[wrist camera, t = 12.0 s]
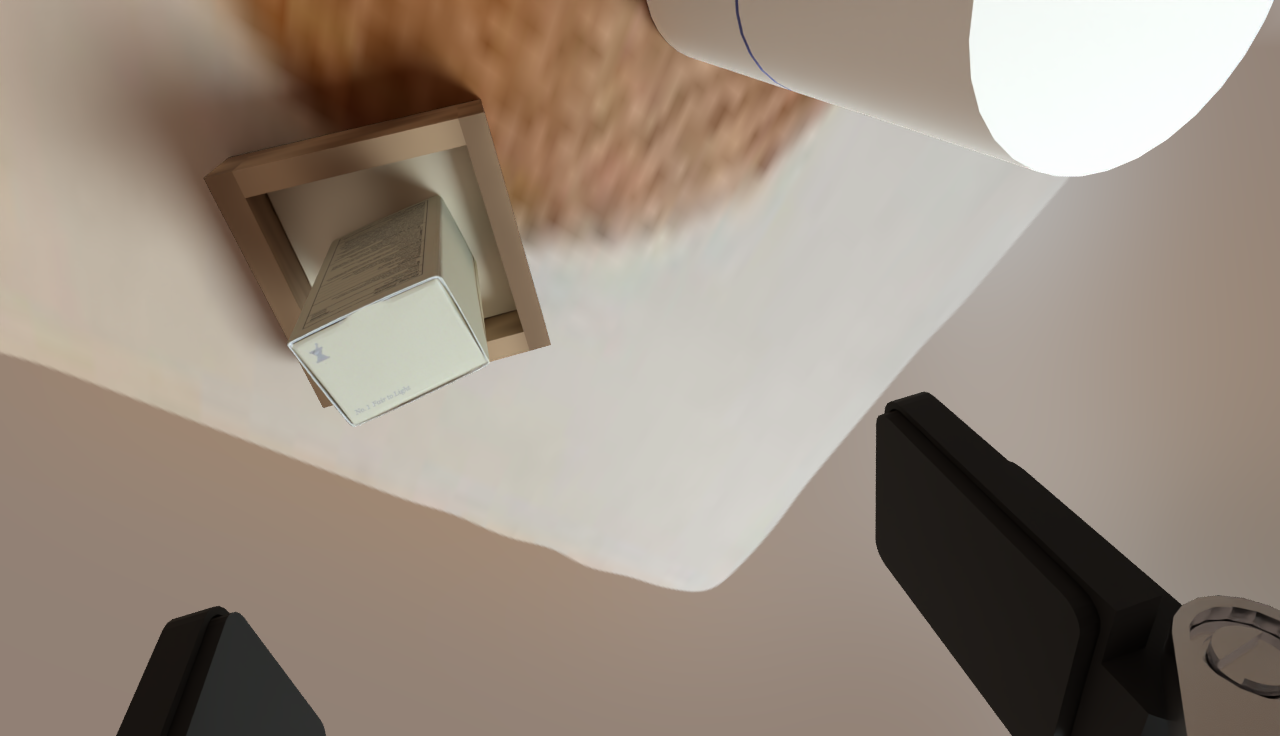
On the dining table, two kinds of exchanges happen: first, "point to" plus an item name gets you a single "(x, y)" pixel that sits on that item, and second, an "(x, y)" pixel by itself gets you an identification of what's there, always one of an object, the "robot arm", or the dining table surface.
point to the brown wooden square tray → (381, 211)
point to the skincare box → (393, 313)
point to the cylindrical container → (987, 66)
